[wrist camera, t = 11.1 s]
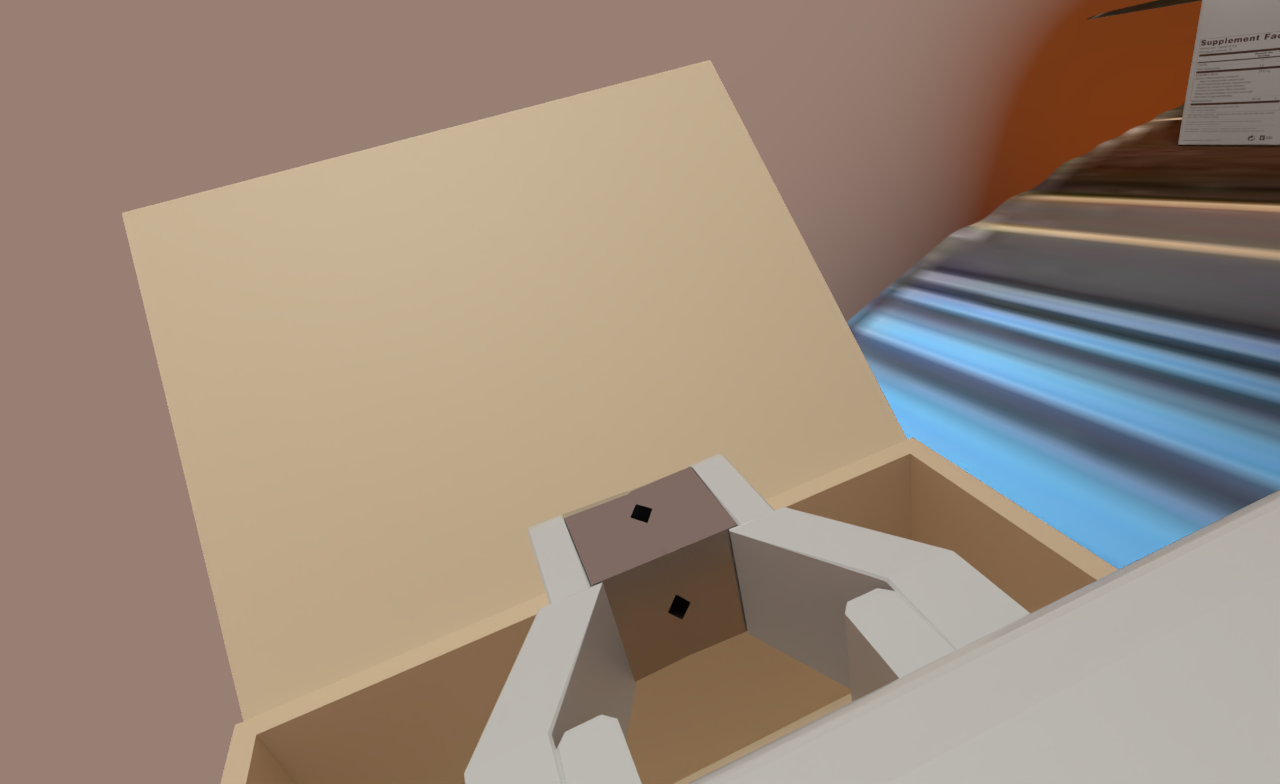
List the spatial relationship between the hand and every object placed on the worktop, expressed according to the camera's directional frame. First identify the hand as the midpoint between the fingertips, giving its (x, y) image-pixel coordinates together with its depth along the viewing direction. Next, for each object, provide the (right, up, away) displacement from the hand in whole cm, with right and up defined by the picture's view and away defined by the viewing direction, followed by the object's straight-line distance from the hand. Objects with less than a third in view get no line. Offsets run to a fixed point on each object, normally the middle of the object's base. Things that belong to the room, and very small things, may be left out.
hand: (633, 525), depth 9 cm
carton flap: (-4, +4, +10) cm, 11 cm away
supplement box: (+64, +29, +59) cm, 92 cm away
